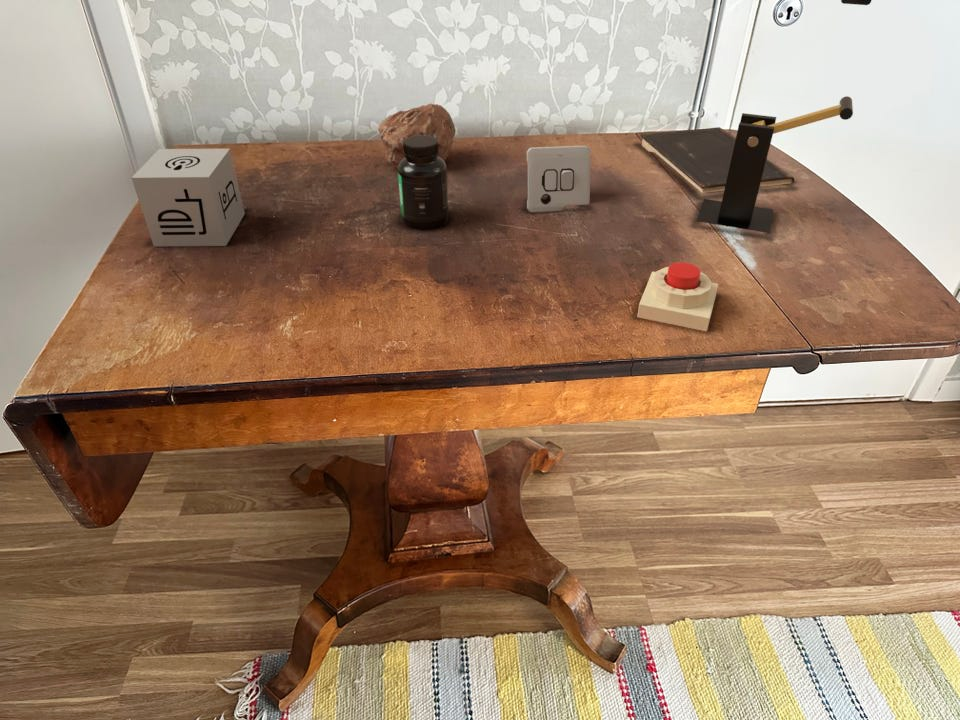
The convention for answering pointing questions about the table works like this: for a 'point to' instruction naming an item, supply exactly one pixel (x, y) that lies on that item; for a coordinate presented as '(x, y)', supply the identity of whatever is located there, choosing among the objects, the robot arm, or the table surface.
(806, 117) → the lever
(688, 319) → the switch box
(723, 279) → the table surface
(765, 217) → the bracket
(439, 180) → the supplement bottle
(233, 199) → the icon cube
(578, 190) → the electrical switch
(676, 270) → the button
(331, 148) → the table surface
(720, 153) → the hardcover book
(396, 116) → the decorative rock
